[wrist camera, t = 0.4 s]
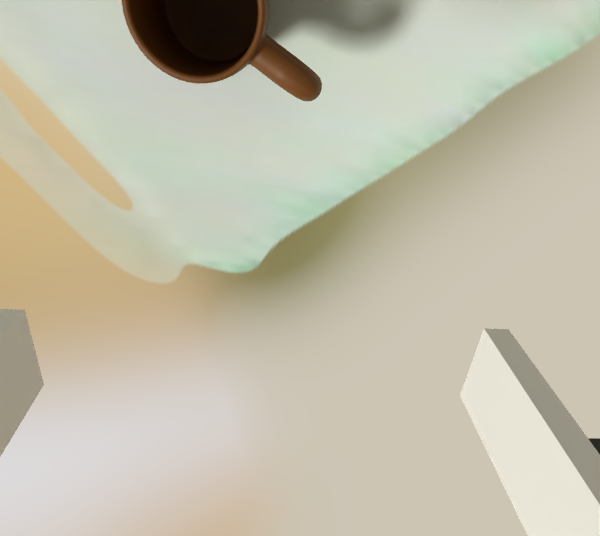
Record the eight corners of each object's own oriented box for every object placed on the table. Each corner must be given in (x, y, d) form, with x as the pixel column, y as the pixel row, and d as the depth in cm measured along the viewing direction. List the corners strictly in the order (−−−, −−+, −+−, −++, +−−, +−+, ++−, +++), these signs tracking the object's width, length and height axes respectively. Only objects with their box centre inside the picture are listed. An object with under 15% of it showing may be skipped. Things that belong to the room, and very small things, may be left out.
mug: (341, 32, 33) (364, 39, 24) (283, 122, 36) (286, 156, 27) (190, -88, 29) (158, -126, 21) (139, 24, 32) (93, 29, 24)
